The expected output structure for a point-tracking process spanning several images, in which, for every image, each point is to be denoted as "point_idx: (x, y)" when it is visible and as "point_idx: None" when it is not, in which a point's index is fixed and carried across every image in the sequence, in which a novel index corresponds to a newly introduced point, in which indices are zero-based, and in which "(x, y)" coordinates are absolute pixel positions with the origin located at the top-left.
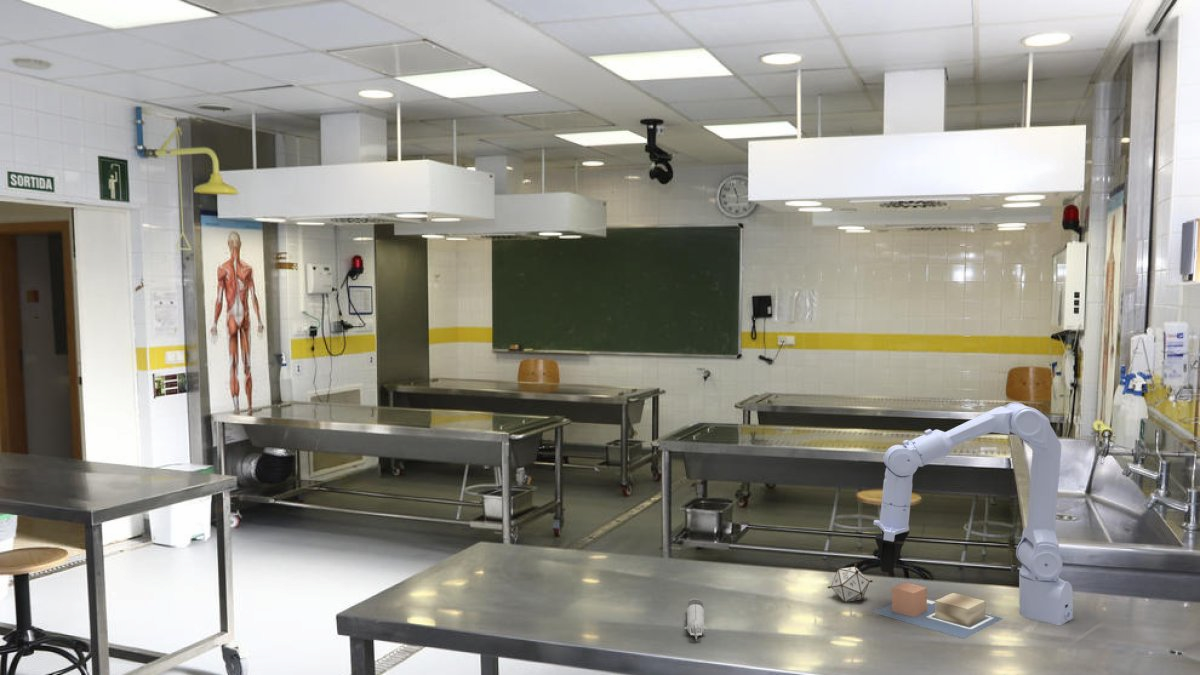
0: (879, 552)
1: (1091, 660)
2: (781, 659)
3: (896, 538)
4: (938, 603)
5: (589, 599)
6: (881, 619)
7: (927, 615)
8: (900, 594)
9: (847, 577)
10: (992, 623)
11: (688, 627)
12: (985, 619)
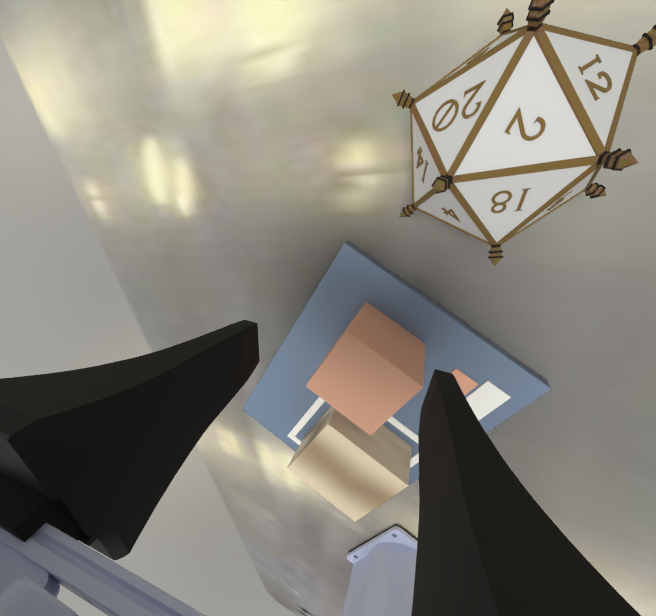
0: (139, 357)
1: (246, 525)
2: (22, 32)
3: (428, 589)
4: (325, 425)
5: None
6: (327, 266)
7: None
8: (334, 346)
9: (438, 126)
10: None
11: None
12: None
